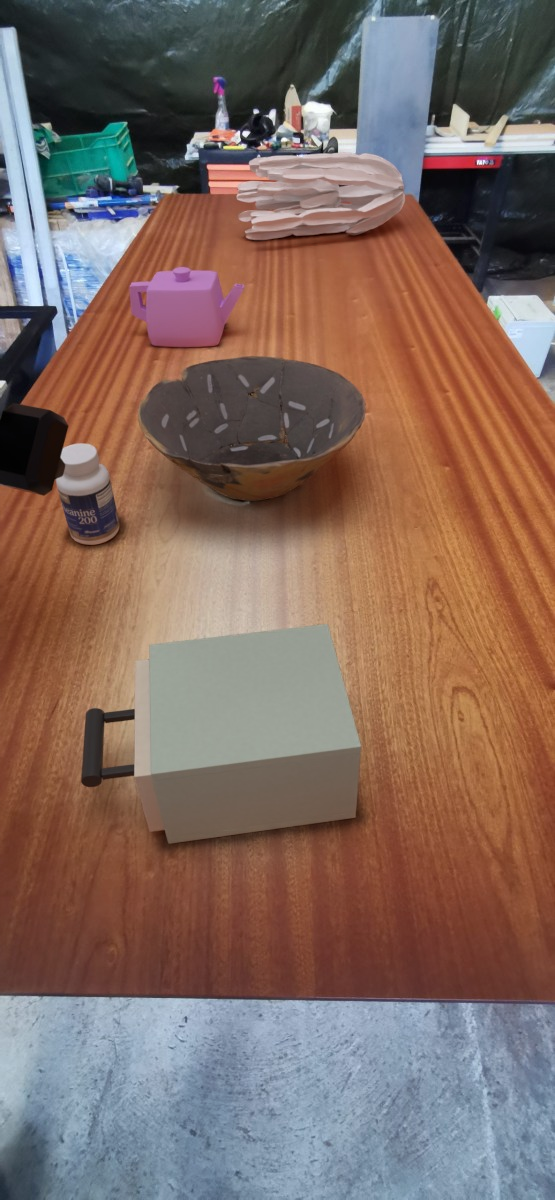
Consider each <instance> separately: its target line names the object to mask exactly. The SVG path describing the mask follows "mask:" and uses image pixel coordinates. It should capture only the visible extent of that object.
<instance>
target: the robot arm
mask: <svg viewBox="0 0 555 1200" xmlns="http://www.w3.org/2000/svg"><path fill="white" fill-rule="evenodd" d="M68 429H69V424H68V423H67V421H66V418H65V417H64V416H62V415H61V414H58V413H56V412H55V411H53V410H51V409H47V408H41V407H36V406H31V405H27V404H20V403H15V402H13V403H12V404H10V405H9V406H7V407H6V408H4V409H3V410H2V413H1V416H0V486H3V487H7V488H10V489H14V490H18V491H22V492H26V493H30V494H34V495H38V496H43V497H44V496H46V495H48V494H49V493H51V492H52V491H53V489H54V485H55V482H56V479H57V478H60V477H62V476H63V474H64V470H65V463H64V462H63V460H62V459H61V458H60V457H61V453H62V449H63V448H64V447H65V446H64V445H65V442H66V441H65V440H66V438H67V434H68Z"/></svg>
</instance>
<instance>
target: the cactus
mask: <svg viewBox="0 0 555 1200" xmlns="http://www.w3.org/2000/svg"><path fill="white" fill-rule="evenodd" d="M248 165H249V170H250V171H251V172H252V173H253V174H256V176H257V177H259V178H266V179H268V180H269V181H263V180H249V181H245V182H243V181H242V182H240V183H238V184H237V189H236V190H238V191H237V194H236V196H235V197H236V200H237V201H240V202H244V203H254V202H255V203H254V205H255V208H256V210H255V209H253V210H252V209H251V210H246V211H242V212H241V213H239V214H238V216H237V218H238V220H239V221H241V222H243V223H249V222H250V223H251V224H252V226H251V228H248V229H246V230H244V235H243V237H245V238H246V239H248V240H254V241H268V240H272V239H279V238H285V237H289V236H291V235H293V236H296V237H299V236H300V237H301V236H315V235H320V234H335V233H337V234H338V233H341V232H345V233H346V234H347V235H350V236H357V235H360V234H363V233H365V232H366V233H367V231H370V230H373V229H376V228H378V227H380V226H382V225H383V224H384V223H386V222H387V221H389V220H390V219H392V218H393V217H395V216H396V215H397V214H398V213H399V212H400V211H402V209H403V207H404V204H405V202H406V194H405V183H404V182H403V175H402V173H401V172H400V171H399V170H398V168H397V167H396V165H394V164H393V163H392V162H391V161H389V160H387V159H386V158H384V157H382V156H380V155H377V154H373V153H367V152H364V153H361V154H356V153H352V152H345V151H341V152H333V153H325V152H324V153H310V154H304V155H303V156H300V155H293V154H292V155H290V154H289V155H272V156H263V157H255V158H253V159H250V160H249V162H248ZM274 181H275V182H274ZM348 202H349V203H348Z"/></svg>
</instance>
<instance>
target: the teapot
mask: <svg viewBox="0 0 555 1200" xmlns="http://www.w3.org/2000/svg"><path fill="white" fill-rule="evenodd" d="M219 277H220V276H219V274H218V272H217V271H215V270H191V268H189V267H187V266H178V267H175V268H173V269H172V270H162V271H156V272H155V274H154V276H153V277H152V278H151V280H149V281H132V282H131V283H130V285H129V287H128V289H129V300H130V312H131V314H130V315H132V316H133V317H135V318H137V319H139V320H141V321H143V322H145V323H146V328H147V329H146V330H147V336H148V339H149V342H150V343H151V345H152V346H154V347H167V348H169V347H170V348H200V347H201V348H202V347H203V348H204V347H215V346H218V345H219V344H220V342H221V339H222V337H223V332H224V328H225V324H226V323H227V321H228V319H229V317H230V316H231V314H232V311H233V310H234V308H235V306H236V305H237V302H238V300H239V298H240V297H241V295H242V293H243V291H244V289H245V284H242V283H241V284H240V283H234V285H233V287H232V288H231V290H230V291H229V293H228V294H227V295H226V296H225V298H224V293H223V289H222V285H221V281H220V278H219ZM142 293H146V298H145V299H146V302H145V304H144V302H143V296H142Z"/></svg>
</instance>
